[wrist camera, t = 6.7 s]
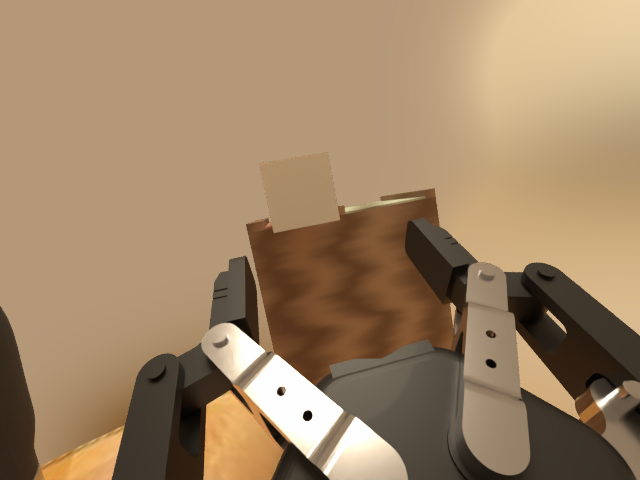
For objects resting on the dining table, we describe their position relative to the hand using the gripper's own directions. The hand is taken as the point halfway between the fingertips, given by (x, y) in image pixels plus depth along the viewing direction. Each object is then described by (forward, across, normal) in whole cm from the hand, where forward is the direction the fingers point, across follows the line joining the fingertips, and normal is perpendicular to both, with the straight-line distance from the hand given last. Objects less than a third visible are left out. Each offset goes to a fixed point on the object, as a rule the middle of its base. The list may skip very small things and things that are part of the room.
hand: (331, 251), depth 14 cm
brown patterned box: (0, +3, -36) cm, 36 cm away
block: (+14, -1, -7) cm, 15 cm away
